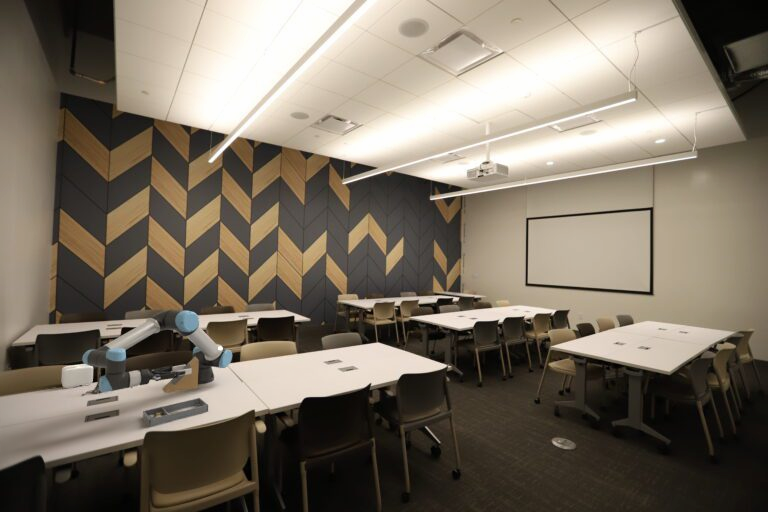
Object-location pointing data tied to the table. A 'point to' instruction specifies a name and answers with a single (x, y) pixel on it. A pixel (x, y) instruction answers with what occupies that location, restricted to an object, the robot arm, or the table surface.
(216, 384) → the table surface
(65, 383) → the cable organizer
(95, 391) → the eiffel tower figurine
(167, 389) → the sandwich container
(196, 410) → the parts tub
